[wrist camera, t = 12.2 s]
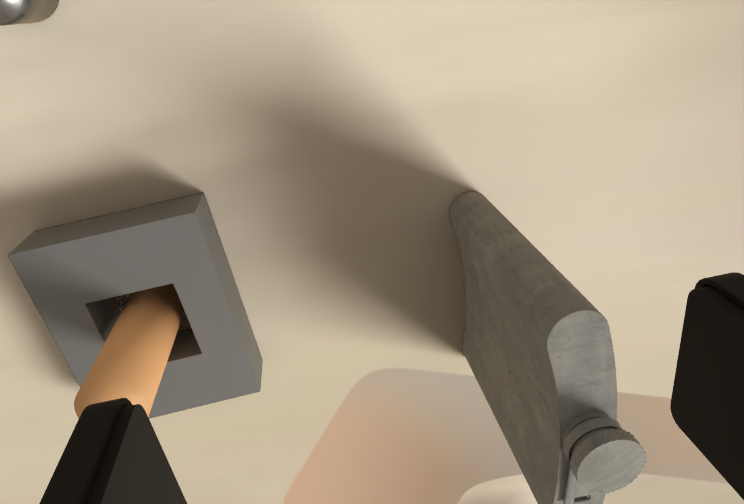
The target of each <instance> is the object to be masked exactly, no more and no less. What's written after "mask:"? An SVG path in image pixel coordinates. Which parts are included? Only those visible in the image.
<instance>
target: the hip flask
mask: <svg viewBox="0 0 744 504" xmlns="http://www.w3.org/2000/svg"><path fill="white" fill-rule="evenodd" d="M449 215H450V220H451V223H452V226H453V229H454V232H455V235H456V239H457V243H458V247H459V252H460V257H461V262H462V269H463V278H464V289H465V329H464V338H463V344H462V350H463V353H464V355H465V357H466V359H467V361H468V363H469V365H470V367H471V369H472V371H473V373H474V375H475V377H476V379H477V381H478V383H479V385H480V387H481V389H482V391H483V393H484V395H485V397H486V400H487V402H488V404H489V405H490V408H491V409H492V412H493V414H494V416H495V418H496V420H497V422H498V424H499V426H500V428H501V430H502V432H503V434H504V436H505V438H506V440H507V442H508V444H509V446H510V448H511V450H512V452H513V454H514V456H515V458H516V460H517V462H518V464H519V466H520V468H521V470H522V472H523V474H524V477H525V479H526V481H527V483H528V485H529V487H530V489H531V491H532V493H533V495H534V497H535V499H536V501H537V503H538V504H603V501H604V497H605V493H609V492H614V491H616V490H619V489H621V488H623V487H625V486H627V485H628V484H629V483H631V482H632V481H633V480H634V479H635V478H637V476H638V475H639V474H640V473H641V471H642V469H643V468H644V464H645V463H646V455H645V451H644V449H643V447H642V446H641V445H640V444H639V442H638V441H637V440H636V439H635V438H634V436H633V435H631V434H630V432H626V431H625V430H623V429H622V428H621V426H620V425H619V423H618V422H617V421H616V419H617V382H616V368H615V358H614V352H613V345H612V339H611V334H610V329H609V325H608V322H607V320H606V319H605V317H604V316H603V315H602V314H601V313H600V312H599V311H598V310H597V309H596V308H595V307H594V306H593V305H592V304H591V303H590V302H589V301H588V300H587V299H586V298H585V297H584V296H583V295H582V294H581V293H580V292H579V291H578V290H577V289H576V288H575V287H574V286H573V285H572V284H571V283H570V282H569V281H568V280H567V279H566V278H565V277H564V276H563V275H562V274H561V273H560V272H559V271H558V270H557V269H556V268H555V267H554V266H553V265H552V264H551V263H550V262H549V261H548V260H547V259H546V258H545V257H544V256H543V255H542V254H541V253H540V252H539V251H538V250H537V249H536V248H535V247H534V246H533V245H532V244H531V243H530V242H529V241H528V240H527V239H526V238H525V237H524V236H523V235H522V234H521V233H520V232H519V231H518V230H517V229H516V228H515V227H514V226H513V225H512V224H511V223H510V222H509V221H508V220H507V219H506V218H505V217H504V216H503V215H502V214H501V213H500V212H499V211H498V210H497V209H496V208H495V207H494V206H493V205H492V203H491V202H490V201H489V200H488V199H487V198H486V197H484V196H483V195H482V194H480V193H478V192H466V193H463V194H461V195H459V196H458V197H457V198H456V199H455V200H454V201H453V203H452V205H451V207H450V211H449Z"/></svg>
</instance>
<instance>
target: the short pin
mask: <svg viewBox="0 0 744 504" xmlns="http://www.w3.org/2000/svg"><path fill="white" fill-rule="evenodd" d="M58 3H59V0H0V25H12V24H24V23H35V22H40V21H43V20H45V19H47V18H48V17H50V16H51V15H52V14H53V13H54V11H55V10H56V8H57V6H58Z"/></svg>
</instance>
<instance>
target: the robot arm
mask: <svg viewBox="0 0 744 504" xmlns="http://www.w3.org/2000/svg"><path fill="white" fill-rule="evenodd" d="M671 412H672V416H673V418H674V420H675V422H676V424H677V425H678V426H679V428H680V429H681V430H682V431H683V432H684V433H685V434H686V435H687V437H688V438H689V439H690V440H691V441H692V442H693V443H694V444H695V446H696V447H697V448H698V449H699V450H700V451H701V452H702V453H703V454H704V456H705V457H706V458H707V459H708V460H709V461H710V462H711V464H712V465H713V466H714V467H715V468H716V469H717V470H718V472H719V473H720V474H721V475H722V476H723V477H724V478H725V479H726V481H727V482H728V483H729V484H730V485H731V486H732V487H733V488H734V490H735V491H736V492H737V493H738V494H739V495H740V496H741V497H742V499H743V500H744V275H742V274H740V273H728V274H723V275H718V276H714V277H709V278H704V279H702V280H699V281H698V283H697V284H696V286H695V289H694V290H691V292H690V293H689V295H688V299H687V305H686V311H685V318H684V324H683V330H682V336H681V343H680V349H679V355H678V361H677V367H676V374H675V380H674V386H673V392H672V399H671ZM40 504H187V502H186V500H185V498H184V496H183V494H182V491H181V489H180V487H179V485H178V482H177V480H176V478H175V476H174V474H173V471H172V469H171V467H170V465H169V463H168V460H167V458H166V456H165V454H164V451H163V449H162V447H161V445H160V443H159V440H158V438H157V436H156V434H155V431H154V429H153V427H152V425H151V423H150V420H149V418H148V416H147V414H146V412H145V410H144V408H143V406H142V405H140V404H136V405H132V403H131V402H130V400H128V399H127V398H120V399H115V400H110V401H105V402H100V403H95V404H90V405H88V406H86V407H85V409H84V410H83V412H82V414H81V416H80V418H79V420H78V422H77V424H76V426H75V429H74V431H73V433H72V435H71V437H70V439H69V441H68V444H67V446H66V448H65V450H64V452H63V454H62V457H61V459H60V461H59V463H58V465H57V467H56V469H55V472H54V474H53V476H52V478H51V480H50V482H49V484H48V487H47V489H46V491H45V493H44V495H43V497H42V499H41V502H40Z"/></svg>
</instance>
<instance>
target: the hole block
mask: <svg viewBox="0 0 744 504" xmlns="http://www.w3.org/2000/svg"><path fill="white" fill-rule="evenodd" d="M8 257H9V259H10V261H11V263H12V264H13V266H14V268H15V270H16V272H17V273H18V275H19V277H20V279H21V281H22V282H23V284H24V286H25V288H26V290H27V291H28V293H29V295H30V297H31V299H32V300H33V302H34V304H35V306H36V308H37V309H38V311H39V313H40V315H41V317H42V318H43V320H44V322H45V324H46V326H47V327H48V329H49V331H50V333H51V335H52V336H53V338H54V340H55V342H56V344H57V346H58V347H59V349H60V351H61V353H62V355H63V356H64V358H65V360H66V362H67V364H68V365H69V367H70V369H71V371H72V373H73V374H74V376H75V378H76V380H77V382H78V383H79V385H80V387H81V386H82V384H83V382H84V380H85V379H86V377H87V375H88V373H89V371H90V369H91V367H92V366H93V364H94V362H95V360H96V358H97V356H98V355H99V353H100V351H101V349H102V347H103V345H104V343H105V342H106V340H107V338H108V336H109V334H110V332H111V331H112V329H113V327H114V325H115V323H116V321H117V319H118V318H119V316H120V314H121V313H120V310H119V308H118V306H117V304H116V302H115V300H114V298H113V297H116V296H120V295H125V294H129V293H133V292H137V291H142V290H146V289H150V288H155V287H159V286H163V285H167V284H172V283H173V284H174V286H175V289H176V291H177V294H178V296H179V298H180V301H181V303H182V306H183V308H184V311H185V313H186V316H187V318H188V320H189V323H190V325H191V329H187V330H182V331H178V332H177V334H176V337H175V340H174V343H173V346H172V349H171V352H170V355H169V358H168V361H167V364H166V367H165V369H164V372H163V375H162V378H161V381H160V384H159V387H158V390H157V393H156V396H155V399H154V402H153V405H152V408H151V411H150V414H149V417H148V418H153V417H157V416H161V415H166V414H170V413H174V412H178V411H182V410H186V409H190V408H194V407H198V406H202V405H206V404H211V403H215V402H219V401H223V400H227V399H231V398H235V397H239V396H243V395H247V394H251V393H256V392H260V387H261V374H262V361H263V360H262V357H261V354H260V351H259V348H258V346H257V343H256V340H255V337H254V334H253V331H252V328H251V326H250V323H249V320H248V317H247V314H246V311H245V308H244V306H243V303H242V300H241V297H240V294H239V291H238V289H237V286H236V283H235V280H234V277H233V274H232V271H231V269H230V266H229V263H228V260H227V257H226V254H225V252H224V249H223V246H222V243H221V240H220V237H219V234H218V232H217V229H216V226H215V223H214V220H213V217H212V214H211V212H210V209H209V206H208V203H207V200H206V197H205V195H204V193H199V194H195V195H190V196H186V197H182V198H177V199H173V200H169V201H164V202H160V203H155V204H151V205H147V206H142V207H138V208H133V209H129V210H125V211H120V212H116V213H111V214H107V215H103V216H98V217H94V218H89V219H85V220H81V221H76V222H72V223H68V224H63V225H59V226H54V227H50V228H46V229H41V230H37V231H34V232H33V233H32V234H31V235H30V236H28V237H27V238H26V239H25V240H24V241H23V242H22V243H21V244H20V245H18V246H17V247H16V248H15V249H14V250H13V251H12V252H11V253H10V254H8Z"/></svg>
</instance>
